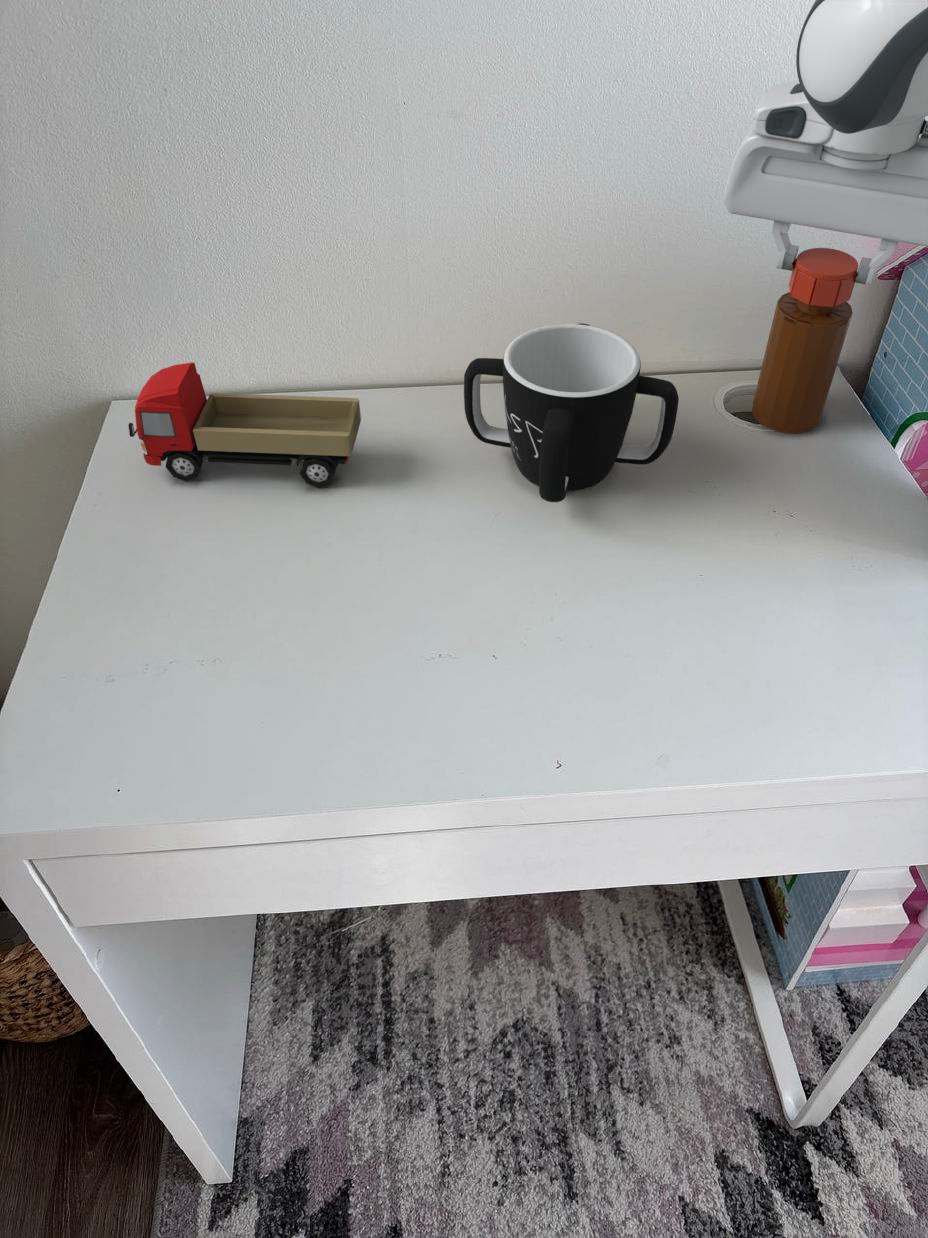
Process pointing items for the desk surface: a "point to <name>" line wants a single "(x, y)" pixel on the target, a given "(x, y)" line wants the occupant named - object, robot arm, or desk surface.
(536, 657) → the desk surface
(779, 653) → the desk surface
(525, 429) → the mug
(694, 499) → the desk surface
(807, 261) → the cap
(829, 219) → the robot arm
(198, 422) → the toy truck
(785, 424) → the bottle
